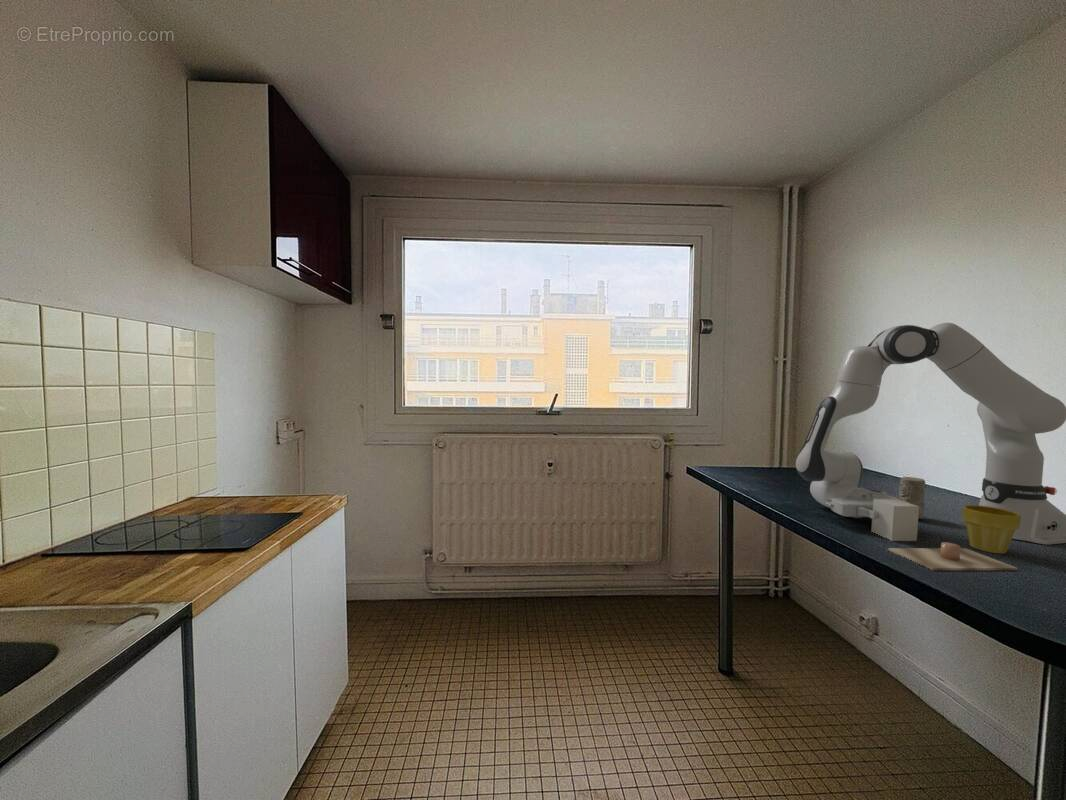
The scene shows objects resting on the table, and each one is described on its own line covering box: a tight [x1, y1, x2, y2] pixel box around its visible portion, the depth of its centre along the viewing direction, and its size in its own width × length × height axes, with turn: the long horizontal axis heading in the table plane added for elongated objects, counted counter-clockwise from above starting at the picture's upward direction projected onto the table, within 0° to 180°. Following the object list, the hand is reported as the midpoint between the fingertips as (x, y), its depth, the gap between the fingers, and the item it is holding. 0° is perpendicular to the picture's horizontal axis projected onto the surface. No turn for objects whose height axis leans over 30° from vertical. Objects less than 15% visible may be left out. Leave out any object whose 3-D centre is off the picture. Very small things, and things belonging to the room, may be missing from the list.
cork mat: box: [887, 547, 1019, 571], centre depth 112 cm, size 20×12×1 cm, turn 94°
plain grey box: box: [870, 499, 919, 542], centre depth 128 cm, size 7×7×9 cm
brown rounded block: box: [940, 541, 962, 560], centre depth 112 cm, size 3×3×3 cm
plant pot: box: [961, 504, 1021, 555], centre depth 120 cm, size 10×10×10 cm
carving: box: [898, 476, 926, 520], centre depth 146 cm, size 6×8×12 cm
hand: (893, 515), depth 128 cm, fingers open, 8 cm apart
